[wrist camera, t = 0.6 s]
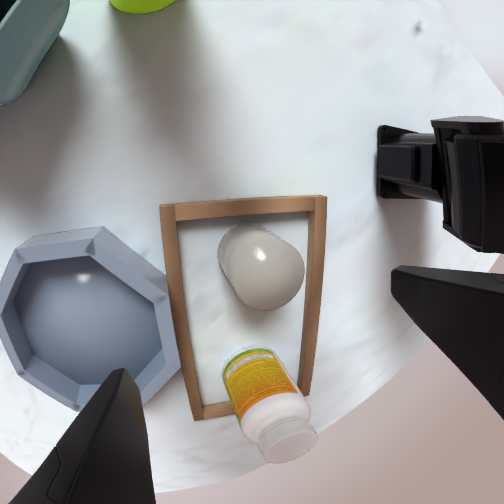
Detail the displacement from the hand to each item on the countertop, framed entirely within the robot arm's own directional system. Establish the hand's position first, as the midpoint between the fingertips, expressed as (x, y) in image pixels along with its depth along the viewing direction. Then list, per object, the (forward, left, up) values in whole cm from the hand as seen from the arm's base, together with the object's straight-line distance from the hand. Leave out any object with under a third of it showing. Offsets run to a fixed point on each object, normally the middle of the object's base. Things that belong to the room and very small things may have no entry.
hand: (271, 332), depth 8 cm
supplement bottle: (-3, +13, -13) cm, 19 cm away
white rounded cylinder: (-3, +2, -13) cm, 13 cm away
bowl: (+10, +6, -13) cm, 17 cm away
